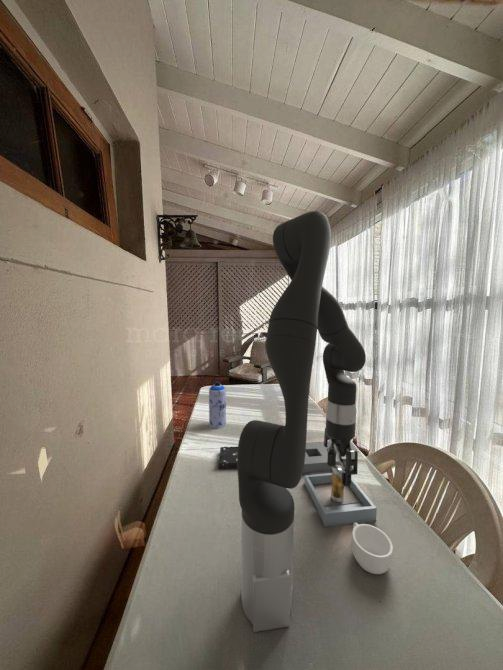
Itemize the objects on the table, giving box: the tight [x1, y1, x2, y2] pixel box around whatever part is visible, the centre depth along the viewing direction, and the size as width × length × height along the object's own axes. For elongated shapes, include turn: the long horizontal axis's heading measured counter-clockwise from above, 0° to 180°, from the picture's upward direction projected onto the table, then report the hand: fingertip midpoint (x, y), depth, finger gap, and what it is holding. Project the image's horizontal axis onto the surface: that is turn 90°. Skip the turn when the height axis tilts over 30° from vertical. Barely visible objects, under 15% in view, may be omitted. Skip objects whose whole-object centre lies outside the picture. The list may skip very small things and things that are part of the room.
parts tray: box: [303, 472, 378, 528], centre depth 72 cm, size 15×14×4 cm
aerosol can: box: [208, 380, 227, 430], centre depth 117 cm, size 8×8×20 cm
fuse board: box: [302, 441, 346, 474], centre depth 89 cm, size 12×18×4 cm, turn 98°
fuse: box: [330, 465, 345, 504], centre depth 71 cm, size 3×3×9 cm
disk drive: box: [218, 446, 238, 470], centre depth 91 cm, size 10×3×15 cm
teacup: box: [351, 523, 394, 575], centre depth 56 cm, size 10×8×5 cm
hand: (338, 474), depth 71 cm, fingers open, 8 cm apart
